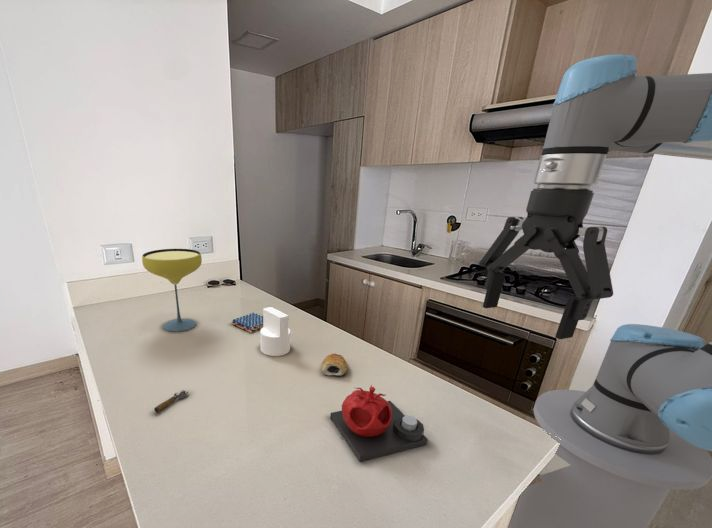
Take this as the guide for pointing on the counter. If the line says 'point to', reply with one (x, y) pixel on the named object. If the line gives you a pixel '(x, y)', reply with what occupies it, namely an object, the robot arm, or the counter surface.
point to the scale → (381, 437)
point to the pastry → (334, 365)
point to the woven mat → (249, 322)
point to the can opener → (170, 401)
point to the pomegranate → (366, 412)
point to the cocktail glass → (173, 275)
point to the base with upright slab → (274, 333)
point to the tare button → (409, 423)
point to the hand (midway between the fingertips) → (522, 320)
